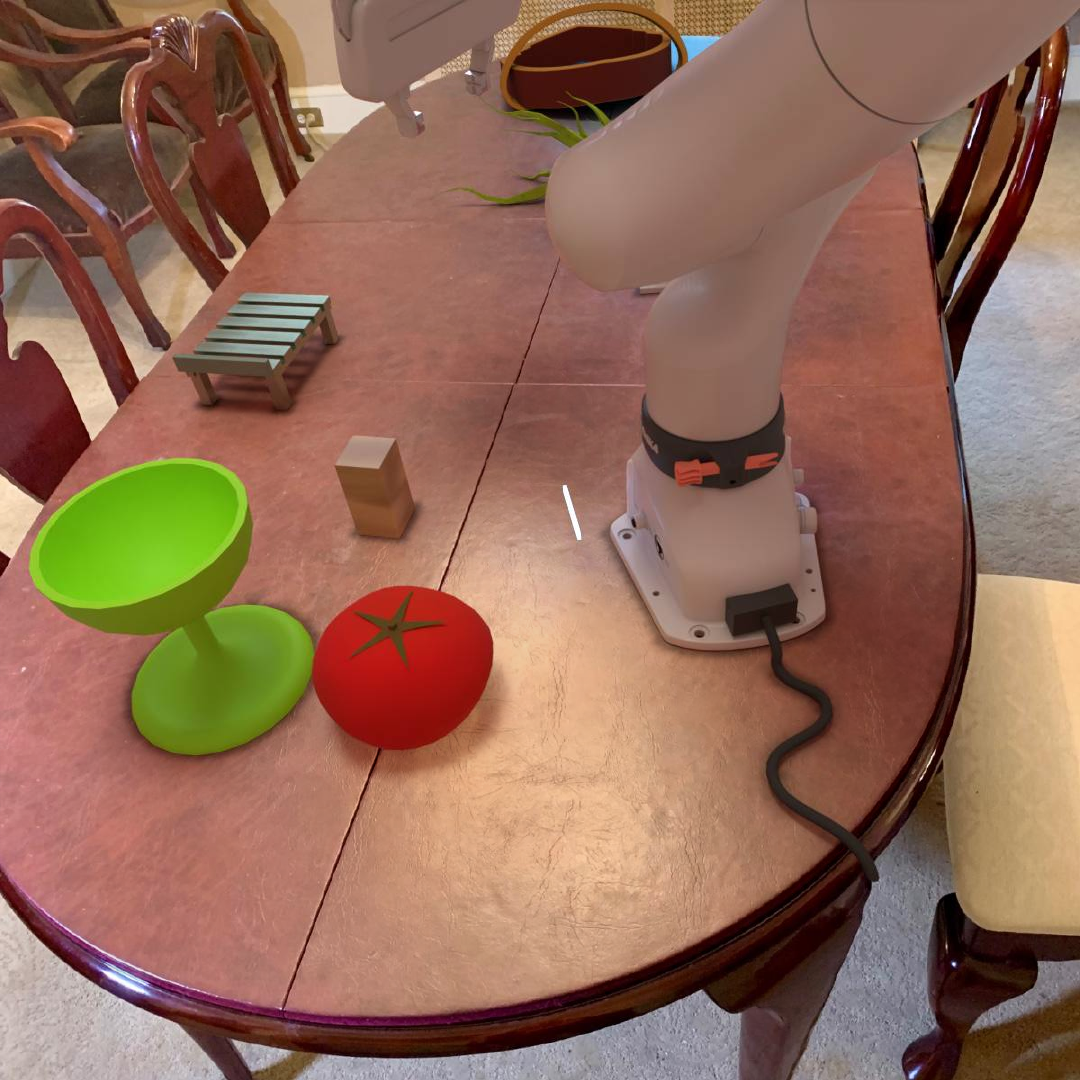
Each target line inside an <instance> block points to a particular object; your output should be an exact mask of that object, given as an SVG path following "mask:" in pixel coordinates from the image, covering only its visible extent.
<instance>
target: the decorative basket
mask: <svg viewBox="0 0 1080 1080" xmlns="http://www.w3.org/2000/svg"><path fill="white" fill-rule="evenodd" d="M593 12H619V13H620V12H621V13H626V14H631V15H635V16H638V17H641V18H643V19H644V20H646V21H648V22H650V23H651V24H653V25H654V26H656V27H657V28H658V29H660V30H661V31H654V30H653V29H645V28H644V29H643V28H639V27H638V26H627V25H625V26H624V25H611V24H610V25H609V24H589V23H588V24H587V23H586V24H585V23H583V24H582V23H579V24H578V23H576V24H573V25H570V26H568V27H565V28H563V29H560V30H558V31H555V32H552V33H550V34H548V35H545V36H542V37H540V38H538V39H536V40H534V41H530V40H531V39H532V38H533V37H535V35H536V34H538V33H539V32H540V31H542V30H543V29H545V28H546V27H549V26H550V25H552V24H555V23H556V22H558V21H560V20H564V19H565V18H569V17H573V16H576V15H580V14H586V13H593ZM528 42H529V43H528ZM672 43H673V45H674V47H675V49H676V52H677V64H676V66H675V69H674V71H673V61H672V60H673V59H672V57H673V55H672V53H673V52H672ZM687 62H689V53H688V50H687V47H686V44H685V42H684V40H683V38H682V36H681V35H680V33H679V31H678V30H677V29H676V28H675V27H674V25H673V24H672V23H671V22H670V21H668V20H667V19H666V18H665V17H663V16H662V15H660V14H659V13H657V12H655V11H653V10H650V9H648V8H645V7H642V6H639V5H635V4H630V3H625V2H612V1H611V2H610V1H606V2H605V1H604V2H603V1H602V2H592V3H585V4H581V5H576V6H573V7H570V8H566V9H563V10H561V11H558V12H556V13H554V14H552V15H550V16H548V17H546V18H544V19H542V20H540V21H539V22H537V23H536V24H534V25H532V27H530V28H529V29H528V30H527V31H525V32H524V33H523V34H522V35H521V36H520V37H519V39H518V40H517V41H516V42H515V43H514V44H513V46H512V47H511V49H510V50H509V52H508V54H507V56H506V57H504V58H502V59H500V60H499V65H500V76H499V88H500V92H501V95H502V97H503V99H504V100H505V102H506V104H508V105H509V106H510V107H511V108H513V109H515V110H517V111H521V110H524V111H531V110H532V111H533V110H538V109H566V108H570V107H572V108H577V107H585V106H588V105H587V104H585V103H583V102H581V101H579V100H576V99H574V98H578V99H581V100H585V101H587V102H589V103H591V104H592V105H596V104H597V105H598V104H601V103H609V102H616V101H622V100H627V99H633V98H636V97H641V96H645V95H647V94H648V93H649V92H650V91H652V90H653V89H654V88H655V87H657V86H658V85H659V84H660V83H661V82H663V81H664V80H665V79H666V78H668V77H669V76H670V75H672V74H673V73H674V72H675V71H677V70H678V69H679V68H681V67H682V66H683V65H685V64H686V63H687ZM566 91H567V92H568V93H569V94H570V95H571V96H572V97H574V98H572V97H571V96H570V95H569V94H568V93H567V92H566ZM557 101H559V102H557ZM560 102H561V103H560ZM562 103H564V104H562ZM565 104H567V105H568V106H570V107H568V106H567V105H565Z"/></svg>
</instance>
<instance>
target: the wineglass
mask: <svg viewBox="0 0 1080 1080" xmlns="http://www.w3.org/2000/svg"><path fill="white" fill-rule="evenodd" d="M247 494H248V493H247V491H246V486H245V485H244V484H243V482H242V481H241V480H240V478H239V477H238V476H237V475H236V473H235V472H233V471H231V470H230V469H228V468H227V467H225V466H223V465H221V464H220V463H217V462H213V461H209V460H205V459H201V458H191V457H189V458H188V457H184V458H183V457H171V458H166V459H159V460H158V459H157V460H151V461H146V462H143V463H139V464H137V465H133V466H130V467H127V468H123V469H121V470H119V471H116V472H114V473H112V474H109V475H107V476H105V477H103V478H101V479H99V480H96V481H95V482H93V483H92V484H90V485H89V486H87V487H86V488H84V489H82V490H80V491H79V492H78V493H76V494H75V495H73V496H72V497H70V498H69V499H68V500H67V501H66V502H65V503H64V504H63V505H62V506H60V507H59V508H58V509H57V510H56V511H54V513H53V514H52V515H51V516H50V517H49V518H48V520H47V521H46V523H45V524H44V525H43V527H42V528H41V529H40V530H39V531H38V534H37V536H36V538H35V540H34V542H33V545H32V547H31V549H30V553H29V566H28V567H29V568H28V572H29V574H30V576H31V579H32V581H33V584H34V587H35V588H36V589H37V590H38V591H39V592H40V593H41V594H42V595H43V596H44V597H45V598H46V599H47V600H48V601H49V602H50V603H51V604H53V606H54V607H56V608H57V609H58V610H59V611H60V612H61V613H62V614H64V615H65V616H66V617H68V618H69V619H72V620H73V621H76V622H79V623H80V624H82V625H85V626H86V627H89V628H92V629H94V630H97V631H100V632H103V633H104V634H105V633H106V634H113V635H114V634H117V635H130V636H143V637H144V636H151V635H158V634H159V635H160V634H166V633H168V632H171V631H172V632H171V633H169V634H168V635H167V636H165V637H163V639H161V641H160V642H159V643H158V644H157V646H156V647H154V648H153V650H152V651H151V652H150V653H149V654H148V655H147V657H146V658H145V660H144V662H143V664H142V666H141V667H140V669H139V671H138V672H137V675H136V677H135V681H134V685H133V688H132V692H131V714H132V718H133V720H134V722H135V724H136V727H137V729H138V731H139V733H140V734H141V735H142V736H143V737H144V738H145V739H146V740H147V741H148V742H150V743H151V744H152V745H153V746H155V747H158V748H160V749H162V750H165V751H166V752H170V753H172V754H177V755H178V754H179V755H189V756H201V755H208V754H216V753H223V752H225V751H228V750H230V749H233V748H236V747H240V746H242V745H245V744H247V743H249V742H250V741H252V740H254V739H256V738H257V737H260V736H261V735H263V734H265V733H267V732H268V731H270V730H271V729H272V728H274V727H275V726H276V725H277V724H278V723H279V722H280V721H282V720H283V719H284V718H285V717H286V716H287V715H288V714H289V713H290V712H291V711H292V710H293V709H294V707H295V706H296V704H297V703H298V702H299V701H300V700H301V698H302V697H303V695H304V694H305V692H306V690H307V688H308V685H309V683H310V680H311V679H312V665H313V658H314V655H315V650H314V644H313V641H312V636H311V635H310V634H309V633H308V631H307V630H306V628H305V627H304V625H303V624H302V622H300V621H299V620H297V619H296V618H294V617H293V616H291V615H290V614H288V613H287V612H286V611H283V610H280V609H277V608H274V607H270V606H268V605H261V604H260V605H258V604H257V605H255V604H238V605H231V606H225V607H221V608H217V609H215V608H216V607H218V606H219V605H220V604H221V603H222V602H223V600H224V599H225V598H226V597H227V596H228V595H229V594H230V593H231V592H232V590H233V588H234V587H235V585H236V583H237V581H238V579H239V578H240V576H241V574H242V573H243V570H244V568H245V566H246V565H247V563H248V560H249V556H250V555H249V554H250V551H251V546H252V538H253V529H254V521H253V516H252V511H251V507H250V503H249V498H248V495H247Z"/></svg>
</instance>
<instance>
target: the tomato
mask: <svg viewBox="0 0 1080 1080" xmlns="http://www.w3.org/2000/svg"><path fill="white" fill-rule="evenodd" d="M491 631H492V630H491V629H490V627H489V625H488V624H487V622H486V621H485V619H484V618H482V616H481V615H480V614H479V612H477V610H476V609H475V608H473V607H472V606H470V605H469V604H468V603H466V602H465V601H463V600H462V599H460V598H458V597H456V596H455V595H452V594H450V593H448V592H445V591H442V590H437V589H434V588H429V587H425V586H417V585H393V586H385V587H383V588H379V589H376V590H374V591H372V592H369V593H368V594H366V595H364V596H362V597H360V598H359V599H358V600H356V601H354V602H352V603H351V604H350V605H348V606H347V607H346V608H344V609H343V610H341V612H339V613H338V614H337V615H336V616H335V617H333V619H332V620H331V621H330V623H328V625H327V626H326V627H325V628H324V631H323V633H322V634H321V636H320V638H319V641H318V643H317V646H316V649H315V651H314V653H315V655H314V658H313V665H312V676H311V681H312V685H313V689H314V691H315V695H316V697H317V699H318V701H319V703H320V704H321V706H322V708H323V709H324V710H325V713H326V714H327V715H328V716H329V717H330V718H331V720H332V721H333V722H334V723H335V724H336V725H337V726H338V727H339V728H340V729H341V730H342V731H344V732H345V733H346V734H348V736H350V737H351V738H353V739H354V740H357V741H359V742H361V743H363V744H366V745H369V746H371V747H374V748H378V749H381V750H385V751H396V752H402V751H408V750H409V751H410V750H415V749H416V750H417V749H420V748H423V747H426V746H429V745H432V744H434V743H436V742H438V741H440V740H441V739H443V738H445V737H447V736H449V734H451V733H452V732H454V731H455V730H456V729H458V727H459V726H460V725H461V724H463V722H464V721H465V720H466V719H467V718H468V717H469V716H470V714H471V713H472V712H473V711H474V709H475V707H476V706H477V704H478V703H479V702H480V700H481V698H482V696H483V694H484V692H485V689H486V687H487V684H488V682H489V679H490V676H491V673H492V668H493V663H494V651H495V650H494V639H493V635H492V632H491Z"/></svg>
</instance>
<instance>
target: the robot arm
mask: <svg viewBox="0 0 1080 1080" xmlns="http://www.w3.org/2000/svg"><path fill="white" fill-rule="evenodd" d="M330 8H331V12H332V28H333V29H332V30H333V37H334V47H335V53H336V54H335V55H336V61H337V68H338V73H339V74H338V75H339V79H340V83H341V86H342V88H343V90H344V91H345V92H346V93H347V94H348V95H349V96H351V97H352V98H354V99H356V100H360V101H363V102H369V103H374V104H380V103H384V105H385V106H386V107H387V108H388V109H389V111H390V112H391V113H392V114H393V115H394V116H395V117H396V122H397V128H398V132H399V134H400V135H401V136H402V137H403V138H406V139H407V138H408V139H415V138H417V137H418V136H420V135H421V134H422V133H424V132H425V130H426V125H425V124H424V114H423V112H422V111H418V110H413V108H412V107H411V106H410V103H409V102H408V100H409V99H410V98H411V96H412V95H411V90H410V86H412V85H413V84H414V83H416V82H418V81H419V80H421V79H423V78H425V77H427V76H428V75H429V74H432V73H433V72H435V71H437V70H439V69H440V68H442V67H443V66H445V65H447V64H448V63H450V62H451V61H453V60H455V59H456V58H458V57H460V56H462V55H464V54H465V53H467V52H469V51H470V50H471V53H470V61H469V69H468V71H466V72H464V74H463V75H464V81H465V83H466V86H465V88H466V89H465V90H466V91H467V93H468V94H469V95H475V96H478V97H479V96H480V97H481V95H483V94H485V93H487V92H488V91H489V90H491V87H492V84H491V75H490V70H491V68H492V63H493V59H494V53H495V51H496V42H495V41H496V40H495V36H496V35H497V34H499V33H500V32H502V31H503V30H505V29H507V28H509V27H510V26H512V25H514V24H515V23H516V22H517V21H518V18H519V14H520V11H521V8H522V0H330ZM1079 10H1080V0H762V1H761V2H760V3H758V5H757V6H756V7H755V8H754V9H753V10H752V12H751V13H749V14H748V16H746V17H745V18H744V19H742V20H741V21H740V22H739V23H738V24H736V26H734V27H733V28H732V29H730V30H729V31H728V32H727V33H725V34H724V35H722V36H721V37H720V38H719V39H718V40H716V41H714V42H713V43H711V44H710V45H708V47H706V48H705V49H703V50H702V51H701V52H699V53H698V54H697V55H695V56H694V57H692V58H691V59H690V60H688V62H687V63H686V64H685V65H683V66H682V67H681V68H679V69H678V70H677V71H675V70H674V71H675V72H674V71H673V72H674V73H673V72H672V73H673V74H672V75H670V76H669V77H668V78H666V79H665V80H664V81H663V82H661V83H660V84H659V85H658V86H657V87H655V88H654V89H653V90H652V91H650V92H649V93H648V94H645V95H643V97H642V98H641V99H639V100H638V101H636V102H635V103H634V104H633V105H631V106H630V107H629V108H627V109H626V110H625V111H624V112H622V113H621V114H620V115H618V116H616V118H614V119H613V120H610V121H611V122H610V123H608V124H607V125H605V126H604V127H602V126H601V128H599V129H597V130H596V131H595V132H593V133H591V134H589V135H590V136H588V137H586V138H585V139H583V140H582V141H580V142H579V143H577V144H576V145H574V146H572V147H571V148H570V147H568V148H567V149H566V150H565V151H563V152H562V153H560V155H559V156H558V157H557V158H556V160H555V161H554V163H553V165H552V168H551V170H552V171H551V173H550V176H549V177H548V181H547V182H548V184H547V188H546V196H545V197H544V216H545V217H544V218H545V224H546V228H547V232H548V236H549V239H550V242H551V244H552V247H553V249H554V250H555V253H556V254H557V256H558V257H559V259H560V260H561V263H563V265H564V266H565V267H566V268H567V269H568V271H569V272H570V273H571V274H572V275H573V276H575V278H576V279H578V280H579V281H581V282H582V283H583V284H585V285H586V286H588V287H590V288H592V289H594V290H595V291H597V292H601V293H612V292H618V291H626V290H632V289H636V288H639V289H640V287H644V286H649V285H654V284H659V283H664V282H668V281H671V280H672V281H671V282H670V283H669V284H668V285H667V286H666V287H665V289H664V290H663V291H662V292H661V293H659V295H658V296H657V298H656V299H655V300H654V302H653V303H652V305H651V307H650V309H649V310H648V313H647V316H646V319H645V322H644V326H643V327H644V328H643V335H642V336H643V362H644V385H645V386H644V387H645V392H644V394H643V396H642V398H641V406H640V407H641V409H640V412H639V424H640V430H641V440H642V441H641V443H640V444H639V446H638V447H637V449H636V450H635V451H634V453H633V454H632V455H631V456H630V457H629V459H628V460H627V461H626V512H624V513H623V514H621V515H620V516H619V517H617V518H616V519H615V520H614V521H613V522H612V523H611V525H610V531H609V537H610V540H611V542H612V543H613V545H614V547H615V549H616V551H617V553H618V555H619V557H620V559H621V561H622V563H623V564H624V566H625V568H626V571H627V573H628V574H629V576H630V578H631V580H632V582H633V584H634V585H635V587H636V590H637V591H638V594H639V595H640V597H641V599H642V601H643V603H644V605H645V607H646V608H647V611H648V612H649V615H650V616H651V618H652V620H653V621H654V624H655V626H656V627H657V630H658V631H659V634H660V635H661V636H662V638H663V640H664V641H665V642H666V643H668V644H671V645H675V646H678V647H681V648H685V649H691V650H699V651H734V650H742V649H751V648H756V647H762V646H768V645H769V647H770V653H771V656H770V666H771V669H772V671H773V673H774V674H775V676H776V677H777V678H778V679H779V680H780V681H781V682H782V683H783V684H785V685H786V686H788V687H789V688H792V689H793V690H796V691H798V692H800V693H802V694H805V695H807V696H809V697H811V698H812V699H814V700H815V701H817V702H818V704H819V705H820V714H819V717H818V718H817V720H815V722H814V723H812V724H811V725H810V726H808V727H806V728H805V729H803V730H801V731H799V732H798V733H796V734H794V735H792V736H790V737H789V738H787V739H785V740H783V741H782V742H781V743H780V744H778V745H777V746H776V747H775V748H774V749H773V750H772V751H771V752H770V754H768V755H769V756H768V757H767V760H766V762H765V775H766V779H767V784H768V786H769V787H770V790H771V791H772V793H773V795H774V796H775V797H776V798H777V799H778V801H779V802H780V803H781V804H782V805H784V806H785V807H786V808H787V809H789V810H790V811H792V812H793V813H795V814H796V815H797V816H799V817H801V818H803V819H805V820H806V821H808V822H810V823H812V824H813V825H815V826H817V827H819V828H820V829H822V830H823V831H824V832H827V833H828V834H829V835H831V836H833V837H834V838H836V839H837V840H839V842H841V843H842V844H843V845H844V846H846V848H847V849H849V851H850V852H851V853H852V854H853V855H854V857H855V858H856V860H857V861H858V862H859V864H860V867H861V869H862V870H863V873H864V876H865V877H866V879H867V880H868V881H870V882H871V883H878V882H879V880H880V873H879V871H878V867H877V865H876V863H875V861H874V859H873V857H872V856H871V854H870V853H869V851H868V850H867V848H866V847H865V845H864V844H863V843H862V842H861V841H860V840H859V839H858V838H857V837H856V836H855V835H854V834H853V833H852V832H850V831H849V830H848V829H847V828H845V827H844V826H843V825H841V824H839V823H838V822H836V821H835V820H833V819H832V818H830V817H829V816H827V815H825V814H824V813H822V812H820V811H818V810H816V809H814V808H812V807H810V806H809V805H807V804H805V803H804V802H802V801H801V800H799V799H798V798H796V797H795V796H794V795H793V794H791V793H790V792H789V791H788V790H787V788H786V787H785V786H784V785H783V783H782V781H781V779H780V774H779V765H780V763H781V761H782V760H783V758H784V757H786V755H788V754H789V753H790V752H792V751H794V750H795V749H797V748H799V747H800V746H802V745H804V744H806V743H808V742H810V741H811V740H813V739H814V738H816V737H817V736H819V735H820V734H822V732H824V731H825V730H826V729H827V727H828V726H829V725H830V724H831V722H832V719H833V716H834V707H833V706H834V705H833V703H832V700H831V698H830V697H829V695H828V694H827V693H826V692H825V691H824V690H823V689H821V688H819V687H818V686H816V685H813V684H812V683H809V682H807V681H804V680H802V679H800V678H798V677H796V676H794V675H793V674H791V673H790V672H789V671H788V670H787V669H786V668H785V666H784V665H783V655H784V654H783V647H782V644H781V642H785V641H787V640H790V639H794V638H797V637H798V636H799V637H800V636H801V635H803V634H806V633H808V632H809V631H811V630H813V629H814V628H816V627H817V626H818V625H820V624H821V623H822V622H824V620H825V618H826V600H825V594H824V587H823V580H822V575H821V574H822V573H821V568H820V561H819V555H818V548H817V542H816V536H815V534H816V533H817V532H818V513H817V508H816V507H813V506H811V504H810V500H809V498H808V497H807V496H805V495H804V494H802V493H799V492H797V491H796V489H795V486H796V485H797V486H798V485H799V486H800V485H804V481H805V478H804V477H805V476H804V474H805V473H804V469H803V468H793V465H792V458H791V446H792V437H791V436H789V435H788V434H787V433H786V431H787V416H786V411H785V403H784V401H785V400H784V396H783V393H782V391H781V388H782V377H783V368H784V359H785V352H786V345H787V338H788V333H789V327H790V322H791V319H792V317H793V316H792V315H793V312H794V310H795V306H796V304H797V301H798V298H799V296H800V294H801V292H802V288H803V287H804V284H805V283H806V280H807V277H808V275H809V273H810V271H811V269H812V267H813V265H814V263H815V260H816V259H817V257H818V255H819V253H820V251H821V249H822V247H823V245H824V243H825V241H826V240H827V238H828V236H829V234H830V232H831V231H832V230H833V228H834V226H835V225H836V223H837V222H838V220H839V219H840V217H841V216H842V215H843V213H844V212H845V210H846V209H847V208H848V206H849V205H850V204H851V203H852V202H853V201H854V200H855V198H856V197H857V196H858V195H859V194H860V193H861V192H862V191H863V190H864V188H866V186H868V184H869V183H870V182H871V180H872V179H873V178H874V176H875V174H876V172H877V169H878V167H879V165H880V163H882V162H883V161H885V160H886V159H888V158H889V157H890V156H892V155H894V154H895V153H896V152H898V151H899V150H901V149H902V148H904V147H905V146H907V145H909V144H910V143H912V142H914V141H915V140H917V138H919V137H921V136H923V135H924V134H925V133H927V132H928V131H930V130H931V129H933V128H934V127H936V126H937V125H939V124H940V123H942V122H944V121H945V120H947V119H948V118H950V117H951V116H953V115H954V114H955V113H957V112H958V111H960V110H961V109H963V108H964V107H966V106H967V105H968V104H970V103H971V102H973V101H974V100H976V99H978V97H980V96H982V95H983V94H984V93H986V92H987V91H988V90H989V89H990V88H992V87H993V86H994V85H996V84H997V83H998V82H1000V81H1001V80H1002V79H1003V78H1005V77H1006V76H1007V75H1009V74H1010V73H1011V72H1012V71H1013V70H1015V69H1016V68H1017V67H1018V66H1019V65H1021V63H1023V62H1024V61H1025V60H1026V59H1028V58H1029V57H1030V56H1031V55H1032V54H1033V53H1034V52H1036V51H1037V50H1038V49H1039V48H1040V47H1041V46H1042V45H1043V44H1044V43H1046V41H1048V40H1049V39H1050V38H1051V37H1052V36H1053V35H1054V34H1055V33H1056V32H1057V31H1058V30H1059V29H1060V28H1061V27H1062V26H1063V25H1065V23H1067V22H1068V21H1069V20H1070V19H1071V18H1072V17H1073V16H1074V15H1075V13H1077V11H1079ZM562 489H563V495H564V498H565V502H566V505H567V508H568V512H569V515H570V518H571V522H572V526H573V529H574V532H575V535H576V539H577V540H578V541H579V540H580V541H581V540H582V535H581V530H580V526H579V523H578V519H577V516H576V513H575V510H574V506H573V503H572V500H571V496H570V494H569V490H568V487H567V485H562ZM698 636H701V637H698Z"/></svg>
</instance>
